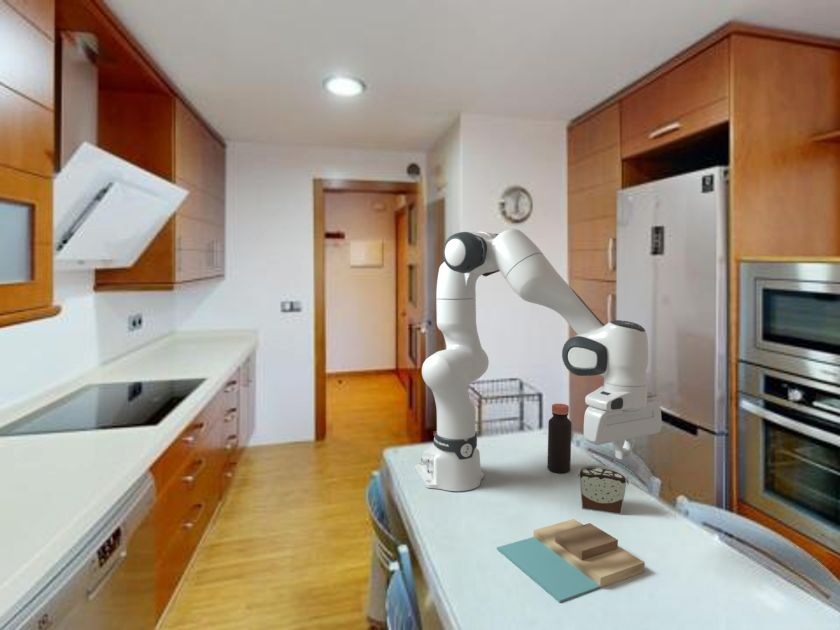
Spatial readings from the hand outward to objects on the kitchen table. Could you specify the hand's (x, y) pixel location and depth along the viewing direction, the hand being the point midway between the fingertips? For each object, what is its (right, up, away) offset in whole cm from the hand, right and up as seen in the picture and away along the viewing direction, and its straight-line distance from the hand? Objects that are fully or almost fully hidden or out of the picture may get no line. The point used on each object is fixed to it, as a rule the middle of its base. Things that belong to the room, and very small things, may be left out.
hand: (623, 457), depth 111 cm
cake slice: (+2, -18, +20) cm, 27 cm away
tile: (-9, -18, -3) cm, 20 cm away
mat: (-19, -20, -7) cm, 29 cm away
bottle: (-2, -16, +44) cm, 47 cm away
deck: (-9, -20, -3) cm, 22 cm away
